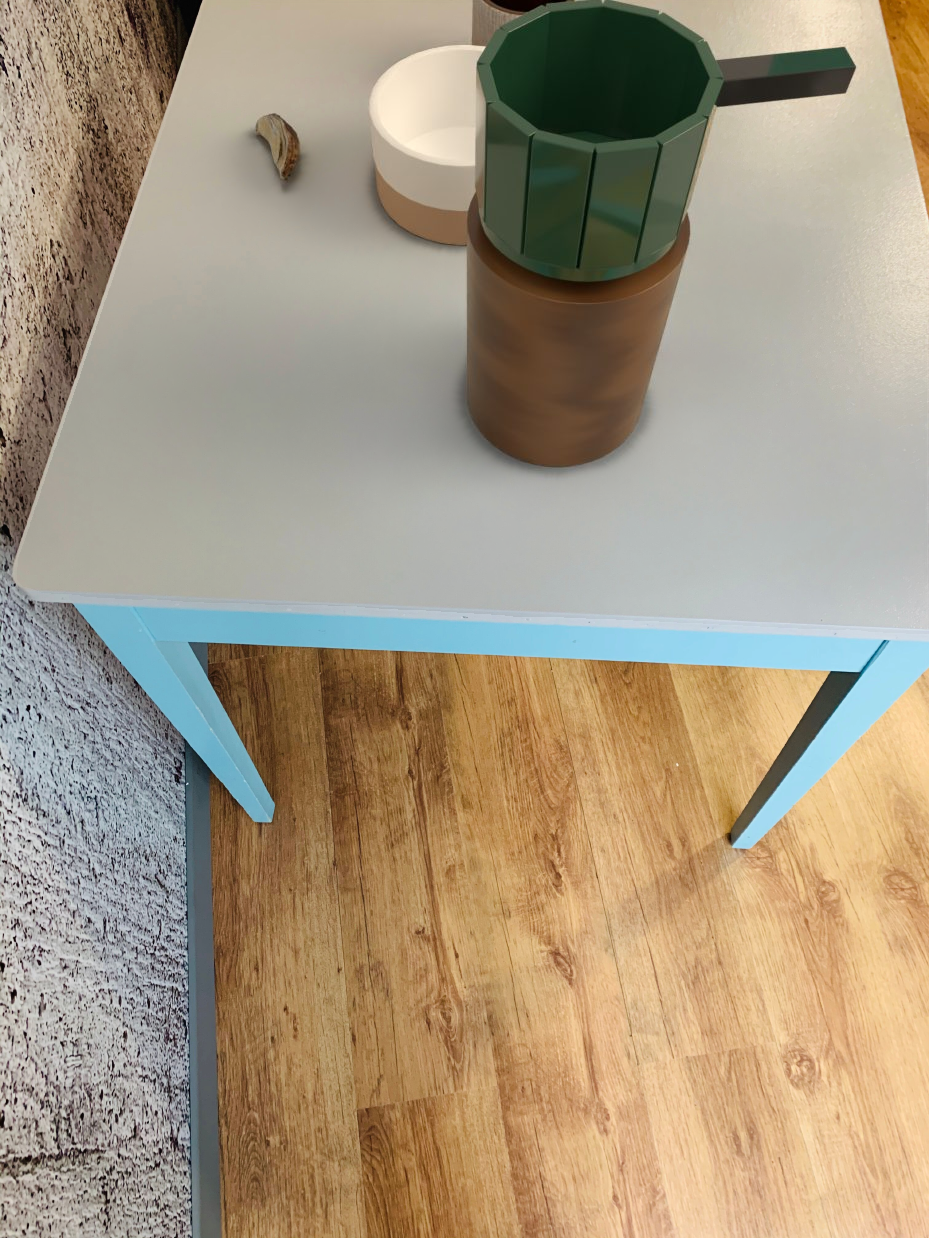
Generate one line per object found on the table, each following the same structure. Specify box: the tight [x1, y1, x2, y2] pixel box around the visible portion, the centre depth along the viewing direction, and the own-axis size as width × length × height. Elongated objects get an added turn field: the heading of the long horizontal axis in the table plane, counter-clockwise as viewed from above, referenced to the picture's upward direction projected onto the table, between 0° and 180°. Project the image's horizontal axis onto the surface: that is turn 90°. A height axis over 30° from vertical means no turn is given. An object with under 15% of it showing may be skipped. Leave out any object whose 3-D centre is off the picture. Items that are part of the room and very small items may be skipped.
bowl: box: [368, 44, 485, 246], centre depth 81 cm, size 17×17×8 cm
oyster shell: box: [254, 112, 301, 184], centre depth 85 cm, size 6×4×10 cm
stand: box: [466, 192, 691, 468], centre depth 65 cm, size 15×15×18 cm
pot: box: [475, 0, 857, 282], centre depth 52 cm, size 22×14×9 cm, turn 99°
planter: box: [471, 0, 581, 47], centre depth 87 cm, size 11×11×10 cm
